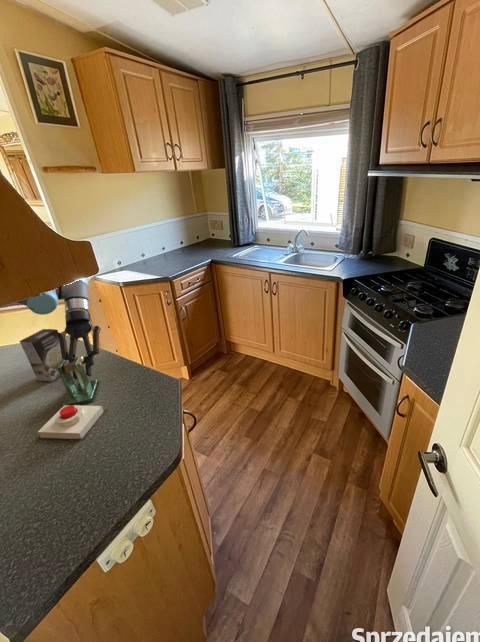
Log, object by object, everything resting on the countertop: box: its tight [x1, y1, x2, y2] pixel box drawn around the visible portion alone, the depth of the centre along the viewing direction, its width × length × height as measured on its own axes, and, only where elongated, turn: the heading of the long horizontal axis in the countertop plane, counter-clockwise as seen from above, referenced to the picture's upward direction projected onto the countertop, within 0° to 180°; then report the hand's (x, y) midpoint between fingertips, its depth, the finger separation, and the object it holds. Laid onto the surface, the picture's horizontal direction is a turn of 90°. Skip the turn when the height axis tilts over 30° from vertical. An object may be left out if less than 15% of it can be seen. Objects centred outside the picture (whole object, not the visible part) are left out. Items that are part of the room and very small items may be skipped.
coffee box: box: [19, 328, 69, 382], centre depth 102 cm, size 9×6×16 cm
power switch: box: [57, 356, 99, 407], centre depth 91 cm, size 10×8×13 cm
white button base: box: [37, 404, 105, 440], centre depth 82 cm, size 12×10×4 cm
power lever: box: [64, 355, 86, 373], centre depth 94 cm, size 13×3×3 cm, turn 19°
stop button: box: [60, 405, 77, 419], centre depth 81 cm, size 4×4×2 cm
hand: (82, 376), depth 98 cm, fingers closed on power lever, 3 cm apart
